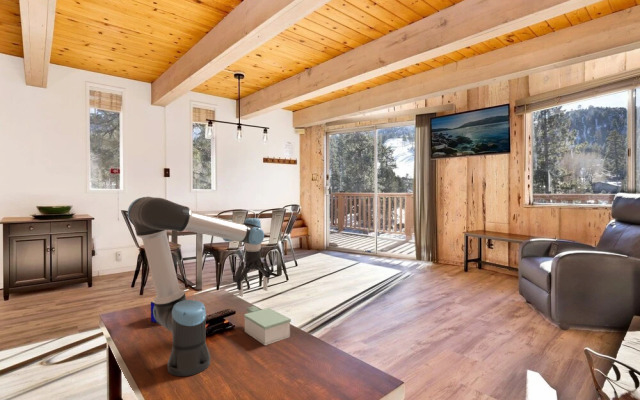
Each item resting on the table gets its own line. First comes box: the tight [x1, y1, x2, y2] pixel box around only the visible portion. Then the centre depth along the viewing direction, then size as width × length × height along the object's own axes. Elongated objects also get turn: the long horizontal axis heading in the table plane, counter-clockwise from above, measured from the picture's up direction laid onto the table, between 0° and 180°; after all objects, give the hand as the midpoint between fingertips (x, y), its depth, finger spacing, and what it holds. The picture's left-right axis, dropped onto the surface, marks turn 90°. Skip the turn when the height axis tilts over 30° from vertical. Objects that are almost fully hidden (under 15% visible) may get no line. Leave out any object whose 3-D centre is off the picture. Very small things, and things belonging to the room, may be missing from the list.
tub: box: [244, 317, 291, 346], centre depth 154 cm, size 18×13×7 cm
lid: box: [243, 305, 292, 330], centre depth 156 cm, size 25×14×2 cm, turn 41°
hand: (253, 293), depth 163 cm, fingers open, 13 cm apart
